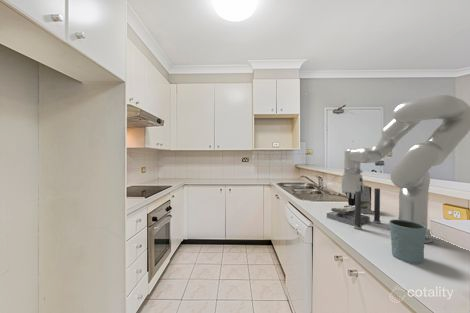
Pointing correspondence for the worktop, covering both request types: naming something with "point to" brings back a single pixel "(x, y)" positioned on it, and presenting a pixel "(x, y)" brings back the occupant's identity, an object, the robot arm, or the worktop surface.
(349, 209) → the block
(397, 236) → the teal green cup
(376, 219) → the dark grey post
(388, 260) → the worktop surface
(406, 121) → the robot arm
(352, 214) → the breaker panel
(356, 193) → the dark grey rod
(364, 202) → the coffee box
